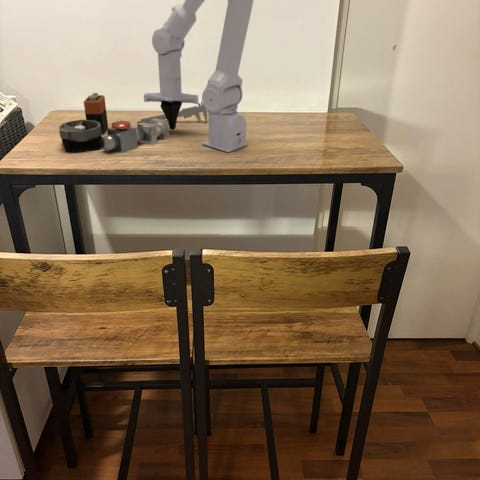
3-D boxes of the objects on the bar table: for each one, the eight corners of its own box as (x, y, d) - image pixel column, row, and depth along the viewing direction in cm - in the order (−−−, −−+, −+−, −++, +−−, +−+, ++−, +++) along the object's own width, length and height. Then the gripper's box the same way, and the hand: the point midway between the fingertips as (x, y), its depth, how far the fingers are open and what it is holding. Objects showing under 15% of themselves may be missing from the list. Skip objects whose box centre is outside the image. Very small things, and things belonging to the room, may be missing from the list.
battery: (87, 134, 133) (82, 97, 128) (93, 127, 139) (88, 91, 134) (103, 134, 133) (99, 97, 128) (108, 127, 139) (104, 91, 134)
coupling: (156, 134, 134) (155, 117, 132) (169, 137, 132) (168, 120, 130) (138, 141, 129) (137, 124, 127) (152, 144, 127) (150, 127, 125)
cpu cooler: (96, 117, 128) (104, 128, 120) (99, 138, 131) (107, 150, 123) (55, 121, 124) (60, 133, 116) (59, 142, 127) (64, 155, 119)
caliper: (207, 122, 146) (206, 100, 143) (207, 123, 145) (207, 101, 142) (136, 123, 144) (135, 101, 141) (136, 124, 143) (134, 102, 140)
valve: (112, 155, 119) (109, 130, 116) (99, 150, 122) (96, 126, 119) (146, 144, 127) (144, 121, 124) (134, 140, 129) (131, 117, 126)
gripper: (139, 80, 126) (143, 131, 132) (195, 82, 125) (196, 133, 132) (145, 74, 132) (149, 124, 138) (199, 76, 131) (200, 126, 138)
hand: (172, 128), depth 135 cm, fingers closed
